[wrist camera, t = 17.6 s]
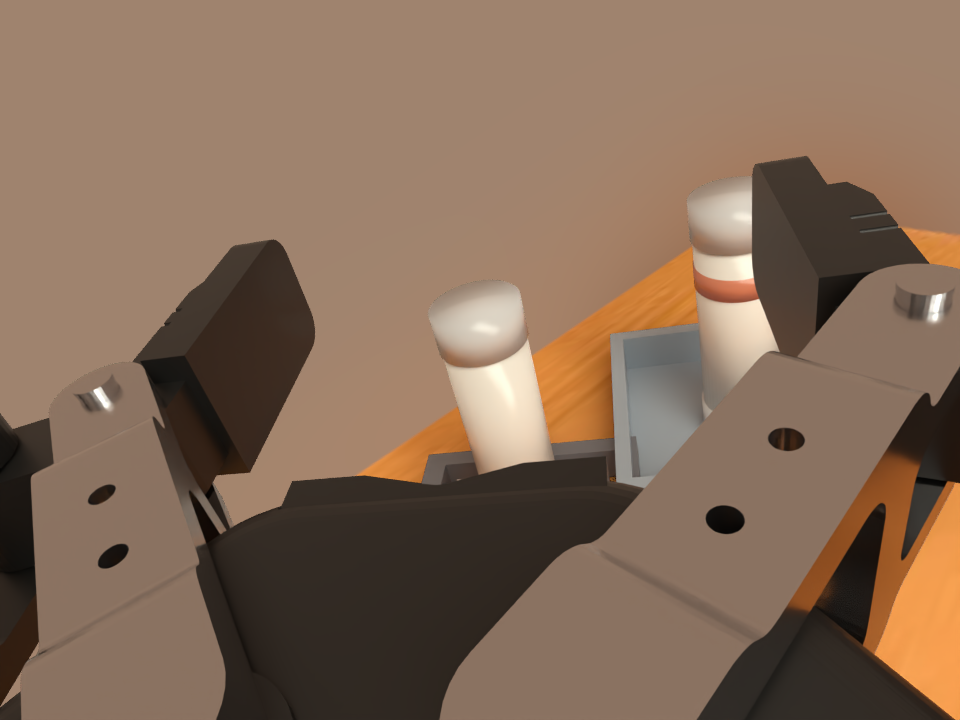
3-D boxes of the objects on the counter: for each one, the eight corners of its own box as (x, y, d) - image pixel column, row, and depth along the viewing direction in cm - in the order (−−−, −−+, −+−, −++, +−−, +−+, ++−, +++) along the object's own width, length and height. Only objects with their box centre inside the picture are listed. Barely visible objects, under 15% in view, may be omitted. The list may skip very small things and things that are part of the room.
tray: (623, 530, 37) (616, 490, 36) (615, 370, 49) (610, 334, 47) (920, 512, 34) (928, 467, 33) (838, 345, 45) (841, 305, 44)
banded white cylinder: (709, 451, 40) (692, 222, 32) (699, 403, 43) (682, 185, 35) (789, 444, 39) (792, 206, 31) (773, 395, 42) (771, 170, 35)
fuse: (488, 552, 38) (418, 333, 31) (499, 495, 42) (438, 285, 34) (566, 550, 37) (514, 323, 30) (571, 492, 41) (525, 275, 33)
